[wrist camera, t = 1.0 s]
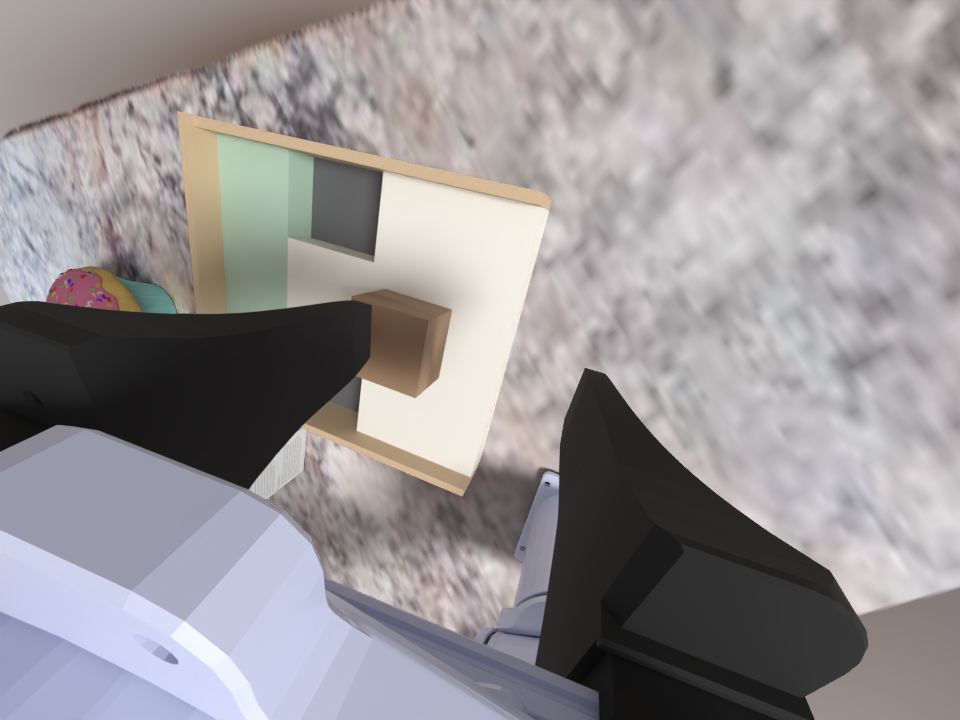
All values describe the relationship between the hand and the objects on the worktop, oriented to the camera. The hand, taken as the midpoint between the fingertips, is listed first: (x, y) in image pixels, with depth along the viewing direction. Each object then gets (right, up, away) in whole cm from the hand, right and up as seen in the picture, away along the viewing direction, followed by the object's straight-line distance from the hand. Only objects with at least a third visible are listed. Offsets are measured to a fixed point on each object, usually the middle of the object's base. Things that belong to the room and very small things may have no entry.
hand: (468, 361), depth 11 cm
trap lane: (-8, +4, +16) cm, 18 cm away
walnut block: (-4, +2, +13) cm, 13 cm away
